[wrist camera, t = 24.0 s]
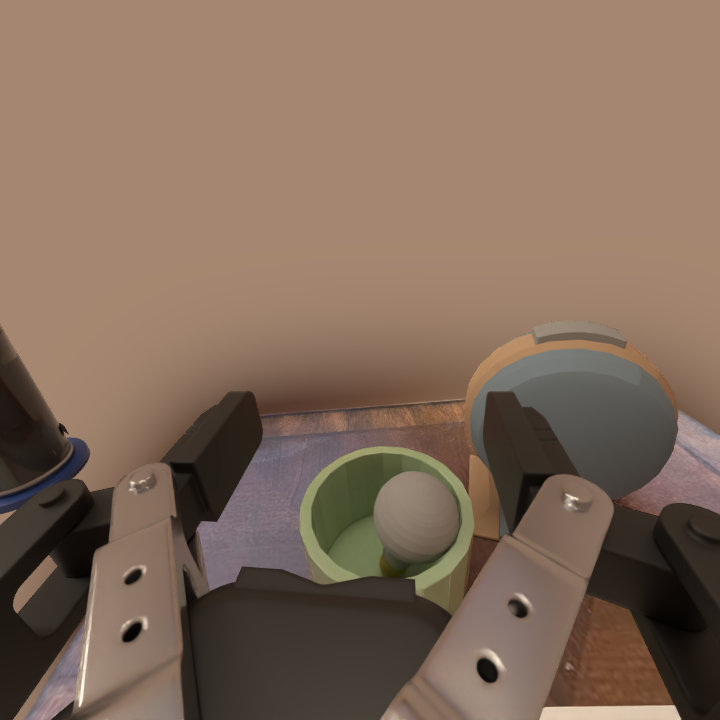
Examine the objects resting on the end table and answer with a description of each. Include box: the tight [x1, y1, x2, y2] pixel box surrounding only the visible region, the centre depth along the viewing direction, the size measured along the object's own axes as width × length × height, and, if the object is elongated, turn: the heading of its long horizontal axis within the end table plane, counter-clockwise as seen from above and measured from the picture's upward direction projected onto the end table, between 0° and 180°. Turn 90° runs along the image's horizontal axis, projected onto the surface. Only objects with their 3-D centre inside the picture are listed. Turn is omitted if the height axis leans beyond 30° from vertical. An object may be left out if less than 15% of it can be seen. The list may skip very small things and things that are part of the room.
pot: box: [300, 446, 475, 616], centre depth 25 cm, size 12×12×8 cm
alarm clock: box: [464, 321, 678, 541], centre depth 28 cm, size 14×10×18 cm
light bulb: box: [374, 471, 459, 578], centre depth 24 cm, size 6×6×10 cm
